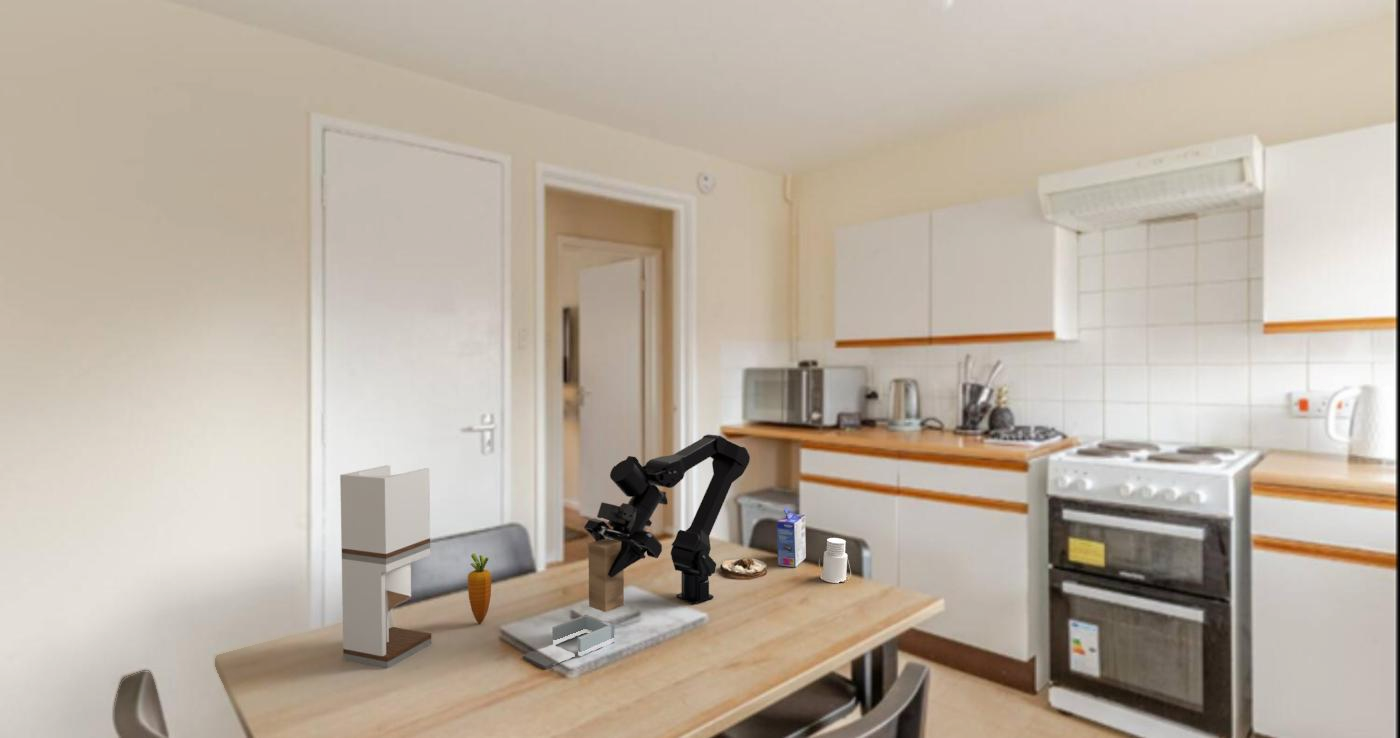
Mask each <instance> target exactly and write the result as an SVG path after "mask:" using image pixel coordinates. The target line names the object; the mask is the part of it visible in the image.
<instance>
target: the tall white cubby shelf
mask: <svg viewBox="0 0 1400 738" xmlns="http://www.w3.org/2000/svg"><path fill="white" fill-rule="evenodd" d="M339 477H340V479H339V480H340V527H341V528H340V534H341V535H340V536H341V537H340V539H341V540H340V541H341V543H340V544H341V587H342V588H341V593H342V594H341V595H342V596H341V597H342V603H341V604H342V605H341V606H342V644H343V645H342V647H343V648H342V651H343V654H342V655H343V657H342V658H343V660H344V661H350V662H354V663H360V664H364V665H370V666H375V667H379V668H383V669H389V668H390V667H391V668H392V667H393V666H394V665H396V664H399V662H402V661H403V660H405V659H407V658H409V657H410V656H413V655H414V654H416V653H418V652H419V651H421V650H423V649H425V648H427V647H428V646H429V645H431V644H432V633H430V632H425V631H419V630H415V629H414V630H413V629H408V628H404V627H403V628H402V627H397V626H394V623H393V621H394V620H393V608H396V607H398V606H399V605H401V604H403V603H405V602H407V601H409V600H410V599H412V570H411V567H412V566H411V563H413V562H416V561H419V560H421V559H424V558H426V557H429V556H431V516H430V515H431V514H430V513H431V511H430V510H431V505H430V504H431V502H430V500H431V499H430V496H431V495H430V468H428V467H425V468H420V469H416V470H412V471H407V472H403V473H397V474H396V473H395V474H391V465H388V464H386V465H382V466H381V465H380V466H376V467H373V468H372V467H371V468H367V469H363V470H357V471H352V472H348V473H343V474H340V476H339Z"/></svg>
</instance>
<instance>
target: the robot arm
mask: <svg viewBox="0 0 1400 738" xmlns="http://www.w3.org/2000/svg"><path fill="white" fill-rule="evenodd" d="M626 457H627V458H626V459H624V460H622V461H620V462H618V463H617V464H616V465H614V466H613V467H612V469H611V471H610V474H609V477H610V480H612V481H613V483H614V484H615V485H616V486H617V487H618V489H619V490H621V492H622V493H623V494H624V495H625V496H626V497H627V498H628V497H629V498H630V497H631V498H630V499H629V501H628V503H625V502H624V503H621V504H620V505H617V504H611V503H607V502H600V506H599V509H598V512H597V516H596V517H597V518H598V519H596V518H592V519H591V518H590V519H588V521H587V522H586V524H585V525H584V527H583V529H584V530H585V531H586V532H587V533H588V534H589V535H590V536H591V537H592V538H593V539H594V541H599V540H602V539H606V538H608V539H612V540H616V541H619V542H621V550H620V552H619V554H618V556H617V558H616V559H615V561H614V563H613V565H612V567H611V569H610V571H609V573H608V575H609V576H610V577H613V576H615V575H616V574H618V573H619V572H621V571H622V570H624V571H625V569H627V568H628V567H630V566H631V565H633V564H635V563H637V562H638V561H640V560H642V559H644V560H645V559H646V557H647V556H648V557H649V558H654V559H658V558H659V557H660V555H661V553H662V552H663V547H662V546H663V545H662V543H661V542H660V541H659V540H658V539H657V538H656V536H654V534H653V533H652V532H650V531H645V530H644V529H645V527H649V528H650V527H651V525H652V524H653V522H652V521H651V517H652V516H653V514H654V512H655V511H656V509H657V508H658V505H660V504H661V505H664V506H665V505H666V506H667V505H668V498H667V493H666V492H667V491H662V490H660V489H659V487H660V488H661V487H663V488H668V489H670V488H674V487H676V486H677V485H678V484H679V483H680V482H681V481H682V480H683V479H684V477H685V474H686V473H687V472H688V471H689V470H691V469H692V468H694V467H696V466H697V465H699V464H701V463H703V462H704V461H706V460H707V459H709V458H711V459H712V462H711V465H712V473H713V475H712V477H711V480H710V481H709V483H708V486H707V488H706V490H705V493H704V495H703V497H702V499H701V502H700V504H699V505H698V506H699V507H698V508H697V511H696V513H695V515H694V517H693V520H692V522H691V524H690V526H689V528H687V529H686V530H682V529H679V530H678V531H677V533H676V536H675V538H674V540H673V542H671V546H672V547H671V550H670V555H671V561H672V563H673V567H674V570H675V571H677V572H681V576H680V577H681V592H680V593H677V594H676V595H675V597H676V598H678V599H680V600H682V601H685V602H687V603H690V605H691V604H692V605H694V604H698V603H702V602H705V601H708V600H711V599H714V595H713V594H710V580H709V577H711V576H712V575H713V574H715V573H716V569H717V563H716V562H715V561H714V559H713V558H712V557H711V556H710V552H711V541H710V535H711V533H712V531H713V528H714V526H715V523H716V521H717V519H718V517H719V514H720V512H721V510H722V507H723V505H724V502H725V501H726V498H727V495H728V494H729V491H730V489H731V487H732V484H733V483H734V482H735V481H736V480H738V479H739V478H741V476H743V474H744V472H745V471H746V469H747V468H748V466H749V463H750V460H751V457H750V453H749V452H748V449H747V448H746V447H744V446H740V445H738V444H735V443H734V442H732V441H729V440H728V439H726V438H725V437H724V436H722V435H719V434H705V435H703V436H702V438H700V439H699V440H697V441H695V442H693V443H691V444H689V445H688V446H686V447H684V448H682V449H680V450H679V451H677V452H676V453H674V454H671V455H664V456H663V455H662V456H658V457H655V458H652V459H651V458H650V459H649V460H648V461H647V462H646V463H645V464H644V465H642V464H641V463H640V461H639V459H638V458H637V457H636V456H633V455H632V456H631V455H628V456H626ZM600 519H604V521H603V520H600ZM605 520H606V521H608V522H607V523H606V522H605ZM608 525H610V526H608ZM611 527H612V529H611ZM645 553H646V555H647V556H646V555H645Z"/></svg>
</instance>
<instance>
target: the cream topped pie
mask: <svg viewBox="0 0 1400 738" xmlns="http://www.w3.org/2000/svg"><path fill="white" fill-rule="evenodd" d="M768 568H769V567H768V564H767V563H765V562H764V561H763V560H760V559H757V558H751V557H750V558H748V557H744V558H743V557H742V558H732V559H731V558H729V559H725V560H723V561H722V562H721V564H720V567H719V569H720V571H721V572H719V573H722V574H723V575H722V577H727V578H729V579H734V580H735V579H737V580H748V581H749V580H752V579H758V578H762V577H764V576H765V577H766V575H767V573H768Z"/></svg>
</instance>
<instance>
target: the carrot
mask: <svg viewBox="0 0 1400 738" xmlns="http://www.w3.org/2000/svg"><path fill="white" fill-rule="evenodd" d="M470 557H471V558H472V560H473V561H474V562H471V563H470V566H471V567H473V568H474V570H472V571H470V572H469V573H468V575H467V590H468V591H467V592H468V600H469V604H470V609H471V612H472V614H473V617H474V619H475V621H476V622H477V623H478V624H479V625H481V624H482V623H483V622H484V620H485V618H486V616H487V613H488V610H489V607H490V603H491V597H492V574H491V572H490V570H488V569H485V567H486V565H487V563H488V562H489V559H490V557H488V556H486V557H485V558H484V556H483V555H481V554H480V555H479V556H477V554H476V553H472V554H471V555H470ZM478 557H479V558H478Z"/></svg>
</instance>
